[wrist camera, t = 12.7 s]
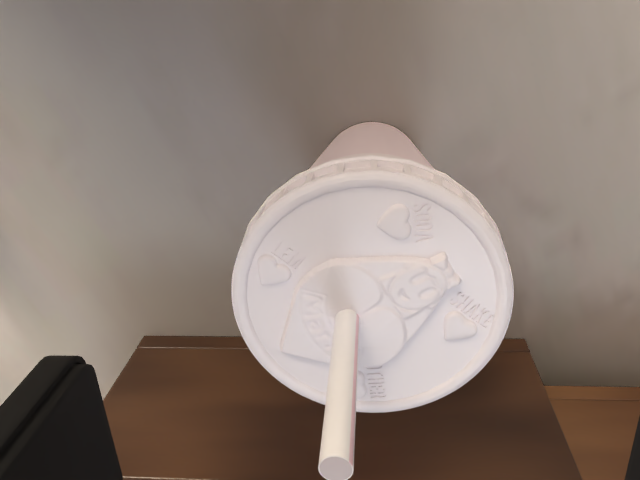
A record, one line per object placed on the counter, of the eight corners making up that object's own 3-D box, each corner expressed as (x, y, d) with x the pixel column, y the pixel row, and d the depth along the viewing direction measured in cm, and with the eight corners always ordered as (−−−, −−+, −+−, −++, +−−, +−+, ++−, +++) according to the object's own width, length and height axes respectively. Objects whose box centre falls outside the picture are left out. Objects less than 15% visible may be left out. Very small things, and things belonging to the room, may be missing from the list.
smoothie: (254, 140, 21) (75, 386, 8) (406, 47, 19) (469, 185, 7) (341, 271, 23) (303, 626, 10) (486, 199, 21) (652, 526, 9)
